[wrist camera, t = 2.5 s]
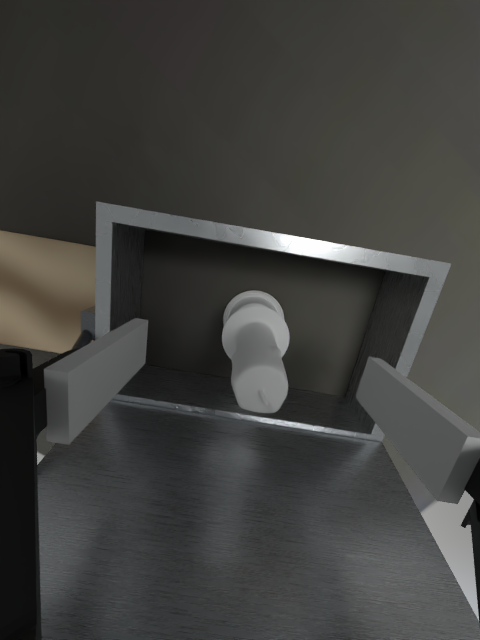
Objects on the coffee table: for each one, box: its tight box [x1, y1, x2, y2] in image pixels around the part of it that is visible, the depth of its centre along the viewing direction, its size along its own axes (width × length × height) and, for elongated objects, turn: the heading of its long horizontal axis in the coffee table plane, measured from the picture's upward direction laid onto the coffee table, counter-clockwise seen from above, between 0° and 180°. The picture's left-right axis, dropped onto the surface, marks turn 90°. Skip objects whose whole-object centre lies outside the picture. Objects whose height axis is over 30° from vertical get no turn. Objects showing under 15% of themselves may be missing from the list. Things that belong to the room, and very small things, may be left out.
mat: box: [0, 230, 96, 353], centre depth 21 cm, size 10×10×1 cm
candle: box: [222, 290, 289, 413], centre depth 16 cm, size 5×5×12 cm
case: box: [36, 202, 480, 640], centre depth 13 cm, size 17×23×19 cm
